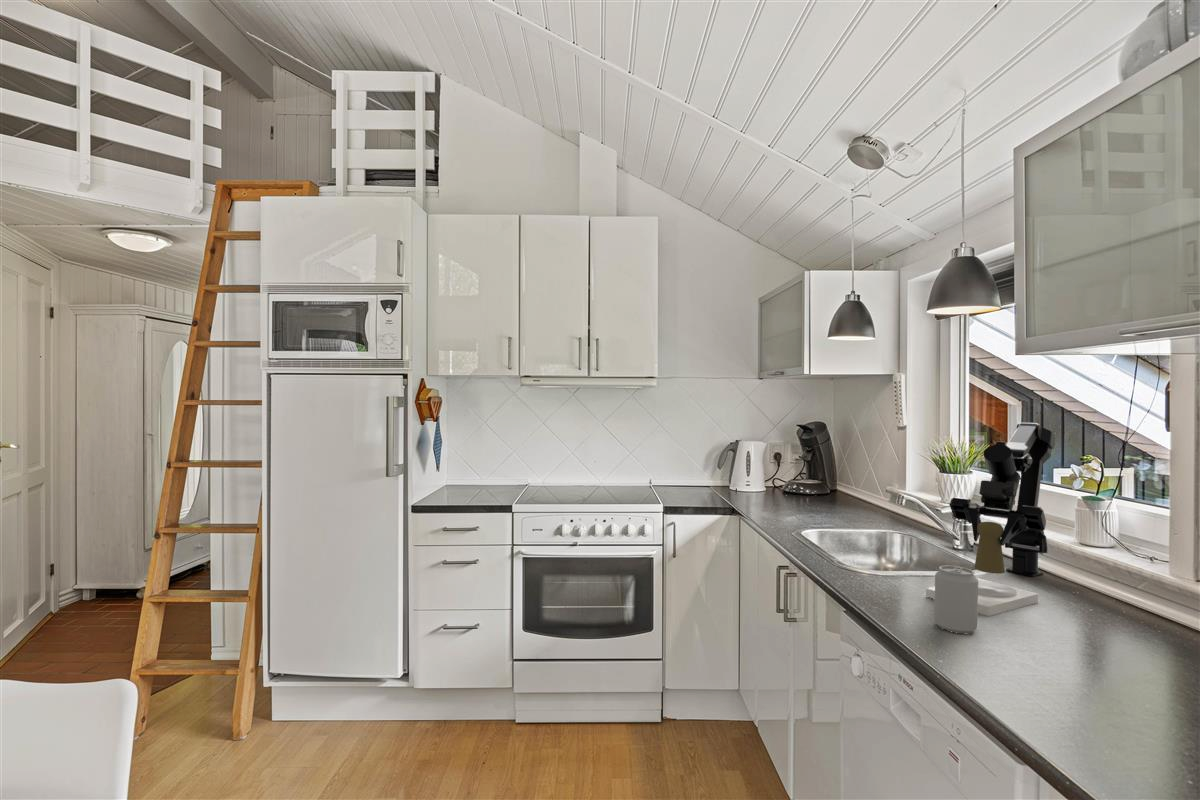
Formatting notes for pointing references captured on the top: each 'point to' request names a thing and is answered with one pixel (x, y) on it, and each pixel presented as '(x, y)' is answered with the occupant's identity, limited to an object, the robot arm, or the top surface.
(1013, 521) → the robot arm
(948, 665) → the top surface
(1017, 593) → the kitchen scale
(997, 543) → the cork
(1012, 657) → the top surface
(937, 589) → the can
